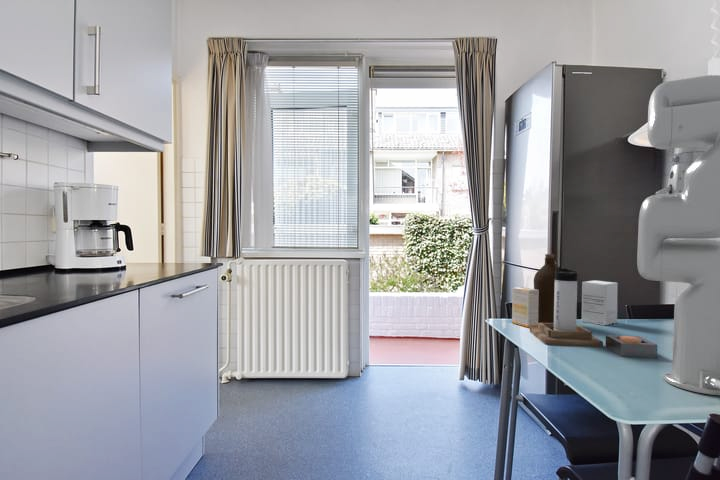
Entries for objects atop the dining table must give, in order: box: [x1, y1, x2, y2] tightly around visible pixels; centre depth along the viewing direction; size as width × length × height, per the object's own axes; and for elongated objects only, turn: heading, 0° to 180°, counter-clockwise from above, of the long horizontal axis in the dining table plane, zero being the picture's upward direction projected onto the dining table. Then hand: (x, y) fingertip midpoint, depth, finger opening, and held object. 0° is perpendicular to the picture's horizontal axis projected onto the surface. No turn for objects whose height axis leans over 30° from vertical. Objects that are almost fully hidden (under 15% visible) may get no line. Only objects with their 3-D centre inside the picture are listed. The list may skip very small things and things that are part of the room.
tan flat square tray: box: [529, 322, 604, 348], centre depth 131 cm, size 16×16×4 cm
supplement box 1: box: [511, 286, 539, 328], centre depth 150 cm, size 8×5×13 cm, turn 22°
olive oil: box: [533, 253, 560, 323], centre depth 155 cm, size 11×11×25 cm
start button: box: [619, 335, 641, 343], centre depth 117 cm, size 5×5×3 cm
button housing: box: [605, 334, 658, 359], centre depth 117 cm, size 9×9×4 cm
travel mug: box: [554, 268, 578, 331], centre depth 131 cm, size 6×7×20 cm
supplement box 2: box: [581, 279, 619, 326], centre depth 156 cm, size 9×9×15 cm
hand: (688, 221), depth 119 cm, fingers open, 9 cm apart
